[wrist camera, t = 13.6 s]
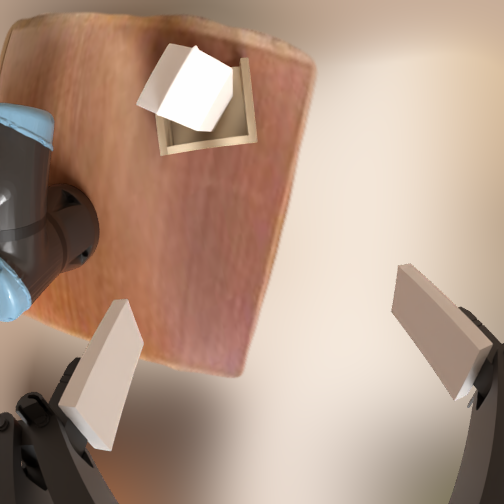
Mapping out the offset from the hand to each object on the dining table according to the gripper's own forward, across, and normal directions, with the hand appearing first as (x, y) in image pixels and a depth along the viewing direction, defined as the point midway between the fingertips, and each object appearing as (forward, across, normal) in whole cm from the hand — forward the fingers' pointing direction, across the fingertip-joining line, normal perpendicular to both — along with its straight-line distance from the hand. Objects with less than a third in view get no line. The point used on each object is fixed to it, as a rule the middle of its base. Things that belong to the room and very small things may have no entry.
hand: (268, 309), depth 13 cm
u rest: (+33, -4, +12) cm, 35 cm away
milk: (+32, -4, +12) cm, 34 cm away
